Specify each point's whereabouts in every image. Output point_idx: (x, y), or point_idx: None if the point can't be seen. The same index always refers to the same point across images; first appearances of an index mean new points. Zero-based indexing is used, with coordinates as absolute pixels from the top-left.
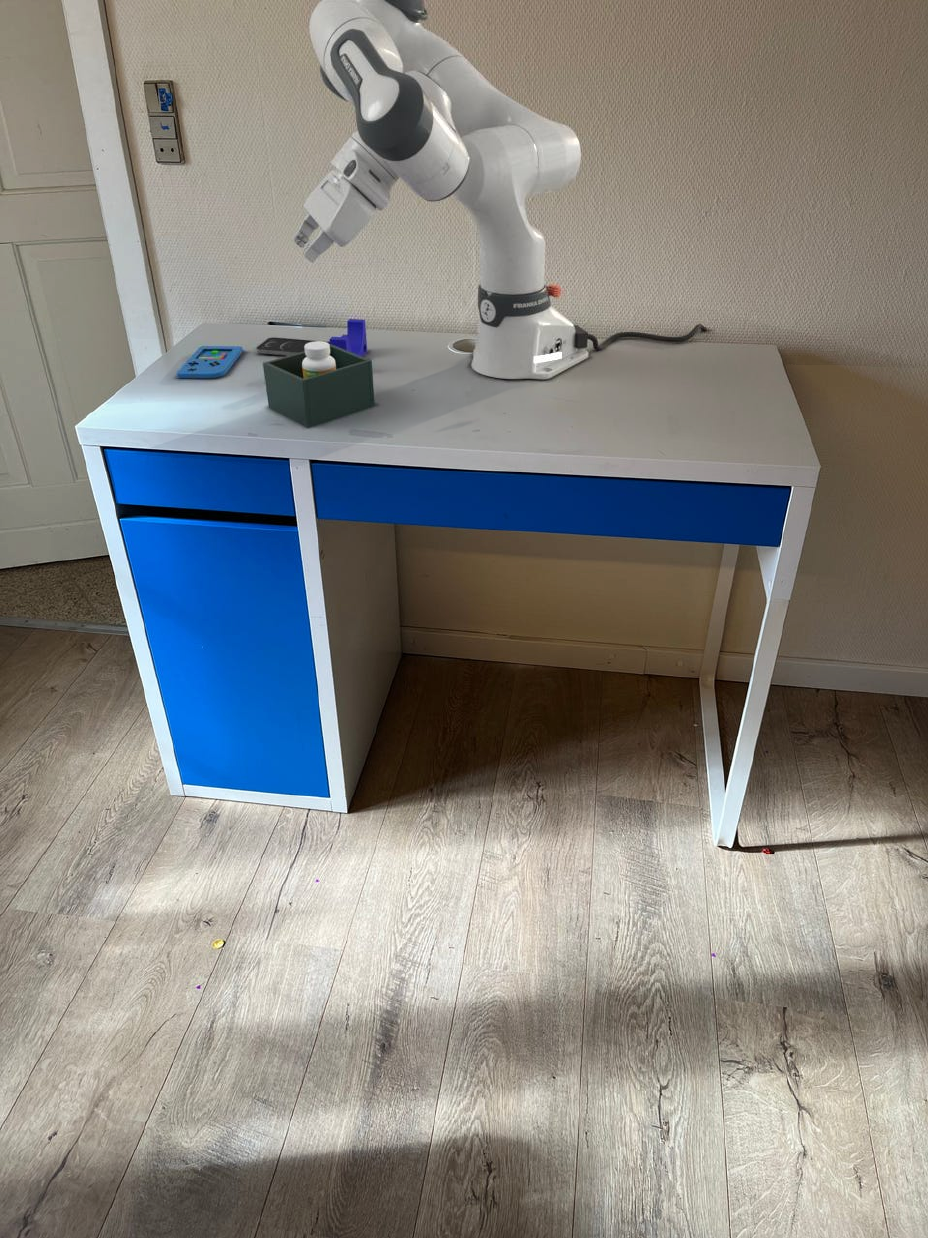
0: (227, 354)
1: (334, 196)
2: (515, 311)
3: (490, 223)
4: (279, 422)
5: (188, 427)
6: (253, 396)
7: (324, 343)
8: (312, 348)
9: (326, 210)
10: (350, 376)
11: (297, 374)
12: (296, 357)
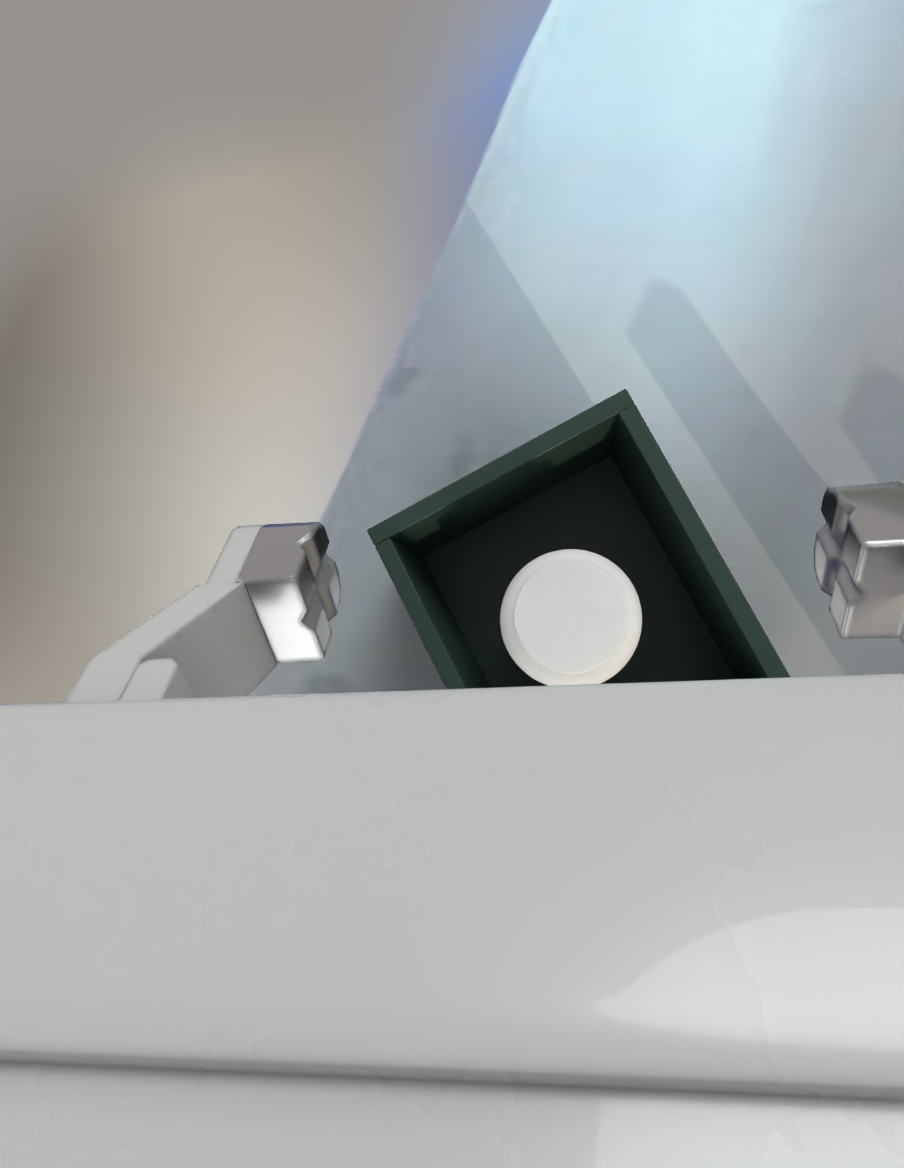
0: None
1: (369, 1159)
2: None
3: None
4: (476, 467)
5: (517, 185)
6: (744, 391)
7: (584, 653)
8: (529, 590)
9: (157, 857)
10: None
11: (673, 541)
12: (684, 535)
